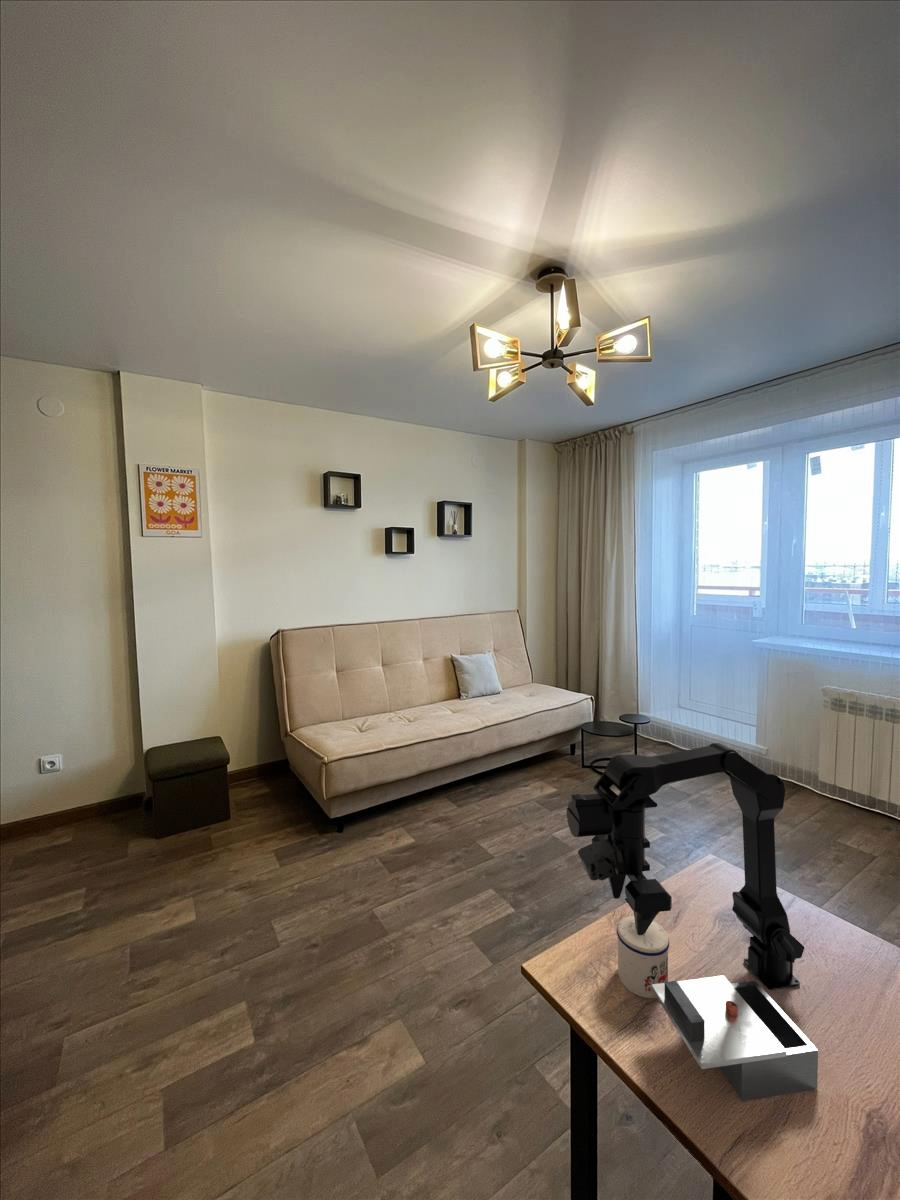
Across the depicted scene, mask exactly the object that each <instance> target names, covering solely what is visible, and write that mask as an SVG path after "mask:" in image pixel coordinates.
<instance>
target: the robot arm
mask: <svg viewBox="0 0 900 1200" xmlns="http://www.w3.org/2000/svg"><path fill="white" fill-rule="evenodd" d="M722 773H724V774H725V775H726V776H728V777H729V781H730V785H731V791H732V794H733V796H734V798H735V800H736V802H737V805H738V806H739V808H740V810H741V814H742V815H741V817H742V834H743V835H742V838H743V839H742V840H743V841H742V842H743V844H742V845H743V863H744V865H743V866H744V867H743V868H744V884H743V886H742V887H741V889H740V890H739V891H733V892H732V901H733V905H732V908H731V911H732V912H733V913H734V914H735V915H736V918H737V919H738V921H740V922H741V924H742V926H743V928H744V929H745V930H747V931H748V932H749V933H750V934H751V935H752V936H749V946H747V947H748V948H747V958H744V959H743V963H744V965H745V966H746V967H747V968H748V969H749V971H751V972H752V974H753V975H755V977H756V978H757V979H758V980H759V981H760V982H761V983H762V984H763V985H764V987H765V988H766V989H768V990H771V991H772V990H778V989H786V988H794V987H799V986H800V985H801V982H800V981H799V979H798V978H797V977H795V976H794V974H793V972H794V970H793V969H794V963H795V960H798V959H801V958H802V957H803V955H804V951H805V946H804V945H803V944H802V943H801V942H800V941H799V940H798V939H796V938H795V937H794V936H793V934H792V933H791V927H790V923H789V917H788V914H787V912H786V909H785V908H784V905H783V903H782V902H781V900H780V898H779V896H778V893H777V891H778V890H777V867H776V866H777V865H776V864H777V863H776V861H777V860H776V840H775V839H776V837H775V836H776V835H775V833H776V832H775V831H776V829H775V818H776V817H777V816H778V815H779V813H780V812H781V811H782V810H783V808H784V805H785V796H786V784H785V781H784V780H783V779H782V778H780V777H779V776H778V775H777V774H774V773H772V772H771V771H769V770H766V769H765V768H763V767H761V766H758V765H756V764H754V763H753V762H750V761H749V760H747V759H745V758H744V757H743V756H741V755H740V754H739V753H738V752H737V751H736V750H734V749H733V748H730V747H729V746H726V745H724V743H723V744H722V743H720V742H716V743H715V742H713V743H710V744H709V745H706V746H702V747H697V748H691V749H686V750H681V751H676V752H672V753H667V754H661V755H655V756H646V755H640V754H617V755H615V756H612V757H611V758H610V759H609V762H608V763H607V765H606V768H605V770H604V771H603V773H602V774H601V775H600V777H599V779H598V780H597V782H596V783H595V784H594V786H593V787H592V788H593V790H594V791H595V792H596V793H591V794H590V793H589V794H581V793H580V794H579V793H578V794H577V793H576V794H572V795H571V801H569V802H568V804H567V808H566V820H567V821H566V822H567V825H568V828H569V830H570V833H571V835H572V836H573V837H574V838H583V837H592V839H591V843H589V844H587V845H585V846H582V847H581V848H579V849H578V850H577V854H578V857H579V859H580V862H581V864H582V867H583V870H584V871H585V872H586V874H587V876H588V878H589V879H590V880H591V881H598V880H599V881H604V880H606V879H608V882H609V886H610V889H611V894H612V898H614V899H615V900H617V899H620V898H621V895H622V891H623V888H624V893H625V898H624V900H625V902H626V903H627V904H628V906H629V907H630V909H631V910H632V911H633V916H634V919H635V926H636V931H637V934H638V935H644V934H645V932H646V931H647V929H648V927H649V926H650V924H651V923H652V921H654V920H655V918H656V917H657V915H658V914H659V913H661V912H670V911H671V910H672V907H673V906H672V905H673V904H672V901H673V900H672V899H673V898H672V896H671V894H669V892H668V891H667V889H666V888H665V887H664V886H663V885H662V883H660V882H659V881H658V880H657V879H656V878H649V879H648V878H647V877H646V876H645V875H644V874H643V872H648V871H651V866H650V864H649V862H648V861H647V860H646V849H650V848H651V842H650V841H649V839H648V838H647V837H646V809H647V808H648V809H650V808H656V807H658V803H657V802H656V801H655V800H653V799H652V798H651V795H654V794H656V793H657V792H658V791H659V790H660V789H662V787H663V786H665V785H666V786H667V785H668V784H672V783H677V782H682V781H687V780H691V779H692V780H693V779H696V778H697V779H698V778H700V777H706V776H712V775H714V774H722ZM611 787H613V788H615V789H616V790H617V791H619V794H617V793H616V792H615V791H613V790H612V789H611ZM626 877H628V879H629V881H628V883H627V884H626V885H625V882H626ZM624 885H625V886H624Z"/></svg>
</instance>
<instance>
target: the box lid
mask: <svg viewBox="0 0 900 1200" xmlns="http://www.w3.org/2000/svg"><path fill="white" fill-rule="evenodd" d="M731 984H732V983H731V982H730V981H729V980H728V979H727V977H726V976H725V975H724V974H723V975H716V976H708V977H699V978H694V979H685V980H673V981H668V982H665V983H660V984H652V985H651V989H652V991H653V992H654V994H655V996H656V997H657V998H656V999H657V1000H658V1002H659V1004H660V1005H661V1007H662V1008H663V1010H664V1012H665V1013H666V1015H667V1016H668V1019H670V1021H671V1023H672V1024H673V1026H674V1027H675V1029H676V1030H677V1032H678V1034H679V1036H680V1037H681V1038H682V1040H683V1041H684V1043H685V1045H686V1047H687V1048H688V1050H689V1052H690V1053H691V1054H692V1056H693V1058H694V1060H695V1061H696V1063H697V1064H698V1066H699V1068H700V1069H701V1070H706V1069H707V1070H708V1069H713V1068H719V1067H720V1066H727V1065H734V1064H740V1063H747V1062H753V1061H760V1060H766V1059H773V1058H779V1057H786V1053H787V1051H786V1050H785V1049H784V1047H783V1046H782V1045H781V1044H780V1043H779V1041H778V1040H777V1039H776V1038H775V1037H774V1035H773V1034H772V1033H771V1032H770V1031H769V1029H768V1028H767V1027H766V1026H765V1025H764V1023H763V1022H762V1021H761V1020H760V1019H759V1017H758V1016H757V1015H756V1014H755V1013H754V1011H753V1010H752V1009H751V1008H750V1007H749V1005H748V1004H747V1003H746V1002H745V1000H744V999H743V998H742V997H741V996H740V994H739V993H738V992H737V991H736V990H735V988H734V987H733V986H732V985H731Z"/></svg>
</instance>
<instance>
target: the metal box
mask: <svg viewBox="0 0 900 1200" xmlns="http://www.w3.org/2000/svg"><path fill="white" fill-rule="evenodd" d="M730 984H731V985H732V986H733V987H734V988H735V990H736V991H737V992H738V993H739V994H740V996H741V997H742V998H743V999H744V1000H745V1002H746V1003H747V1004H748V1005H749V1007H750V1008H751V1009H752V1010H753V1011H754V1013H755V1014H756V1015H757V1016H758V1017H759V1019H760V1020H761V1021H762V1022H763V1023H764V1025H765V1026H766V1027H767V1028H768V1029H769V1031H770V1032H771V1033H772V1034H773V1035H774V1037H775V1038H776V1039H777V1040H778V1041H779V1043H780V1044H781V1045H782V1046H783V1047H784V1049H785V1050H786V1051H787V1053H786V1057H779V1058H773V1059H766V1060H760V1061H753V1062H747V1063H740V1064H734V1065H727V1066H720V1067H718V1069H719V1070H720V1071H721V1073H722V1074H723V1076H724V1078H725V1079H726V1080H727V1082H728V1084H729V1086H731V1088H732V1089H733V1090H734V1092H735V1094H736V1096H737V1097H738V1099H739V1100H740V1102H748V1101H752V1100H753V1101H754V1100H759V1099H760V1100H761V1099H765V1098H773V1097H776V1096H783V1095H789V1094H796V1093H804V1092H809V1091H814V1090H818V1076H819V1075H818V1070H819V1069H818V1068H819V1067H818V1066H819V1050H818V1048H817V1047H816V1046H815V1044H814V1043H812V1041H810V1039H809V1038H808V1037H807V1036H806V1035H805V1034H804V1033H803V1031H802V1030H801V1029H800V1028H799V1027H798V1026H797V1025H796V1023H794V1021H792V1019H791V1018H790V1017H789V1016H788V1015H787V1014H786V1013H785V1012H784V1010H783V1009H782V1008H781V1007H780V1006H779V1005H778V1004H777V1002H776V1001H775V1000H774V999H773V998H772V997H771V996H770V995H769V994H768V992H767V991H765V990H764V988H763V987H762V986H761V985H760V984H759V983H758V981H756V980H748V981H741V982H740V981H739V982H734V983H733V982H732V983H730Z"/></svg>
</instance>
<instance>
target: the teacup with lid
mask: <svg viewBox="0 0 900 1200" xmlns="http://www.w3.org/2000/svg"><path fill="white" fill-rule="evenodd" d="M616 936H617V972H618V973H617V974H618V978H619V980H620V982H621V983H622V985H623V986H624V987H625V988H626V989H628V991H629V992H631V993H632V994H634V995H636V996H638V997H641V998H646V999H657V997H656V996H655V994H654V992H653V991H652V989H651V985H652V984H660V983H665V982H669V948H670V939H669V936H668V933H667V932H666V930H665V929H664V927H662V926H661V925H660V924H659V923H657V922H656V921H654V920H653V921H652V923H651V924H650V926H649V927H648V929H647V931H646V932H645V934H644V935H638V934H637V931H636V926H635V919H634V915H628V916H625V917H623V918H622V919H621V920H619V922H618V923H617V926H616Z"/></svg>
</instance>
